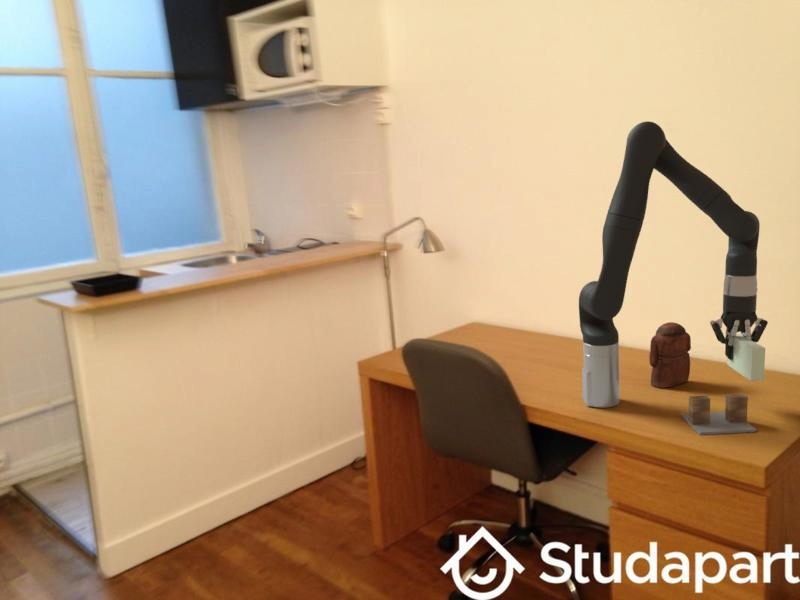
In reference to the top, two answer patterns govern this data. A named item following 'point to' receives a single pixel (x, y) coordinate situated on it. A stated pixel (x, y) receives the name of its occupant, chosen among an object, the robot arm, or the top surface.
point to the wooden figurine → (670, 355)
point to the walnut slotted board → (733, 409)
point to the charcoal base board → (720, 425)
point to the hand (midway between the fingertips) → (737, 358)
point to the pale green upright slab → (748, 358)
